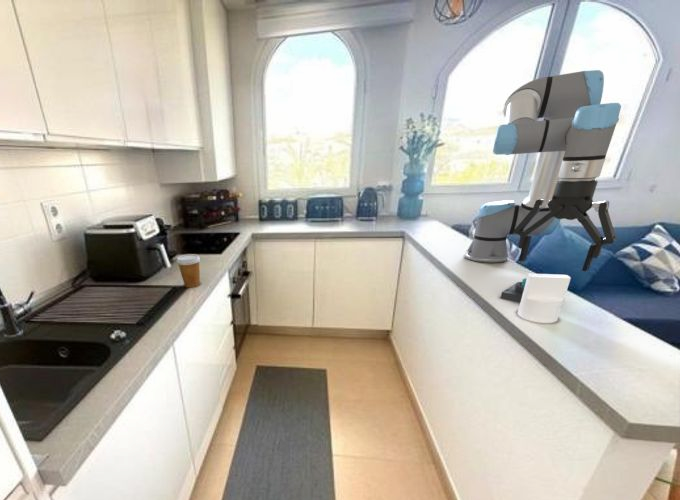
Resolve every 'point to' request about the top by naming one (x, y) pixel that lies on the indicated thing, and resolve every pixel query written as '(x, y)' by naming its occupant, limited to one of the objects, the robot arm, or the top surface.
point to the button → (524, 282)
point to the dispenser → (513, 292)
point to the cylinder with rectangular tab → (543, 297)
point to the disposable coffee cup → (189, 269)
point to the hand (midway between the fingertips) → (552, 264)
